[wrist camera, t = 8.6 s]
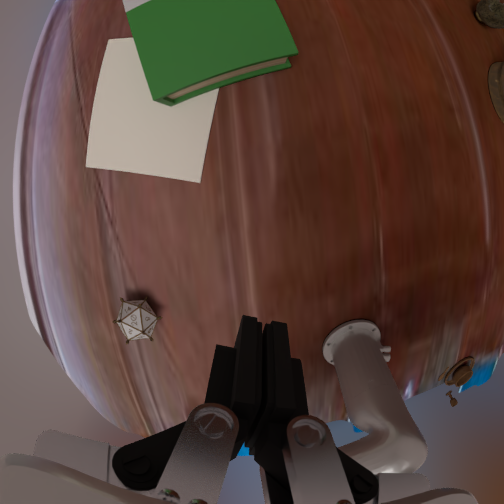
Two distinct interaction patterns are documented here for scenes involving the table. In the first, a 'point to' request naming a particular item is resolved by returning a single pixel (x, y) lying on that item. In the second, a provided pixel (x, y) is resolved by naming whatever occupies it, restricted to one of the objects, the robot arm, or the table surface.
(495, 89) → the wooden container
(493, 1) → the cup
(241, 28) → the hardback book
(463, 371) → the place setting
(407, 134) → the table surface
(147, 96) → the desk pad
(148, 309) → the game die
